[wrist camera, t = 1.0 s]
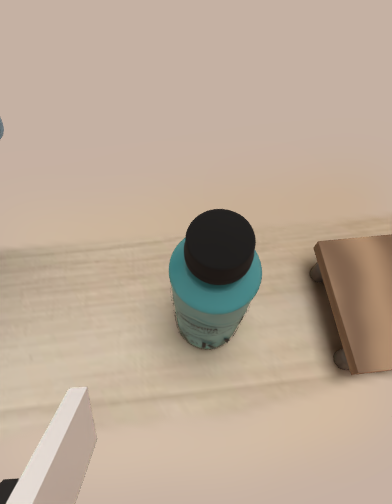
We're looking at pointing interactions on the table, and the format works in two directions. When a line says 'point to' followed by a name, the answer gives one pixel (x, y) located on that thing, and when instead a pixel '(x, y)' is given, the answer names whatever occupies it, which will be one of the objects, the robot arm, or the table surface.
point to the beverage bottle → (214, 277)
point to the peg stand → (359, 299)
